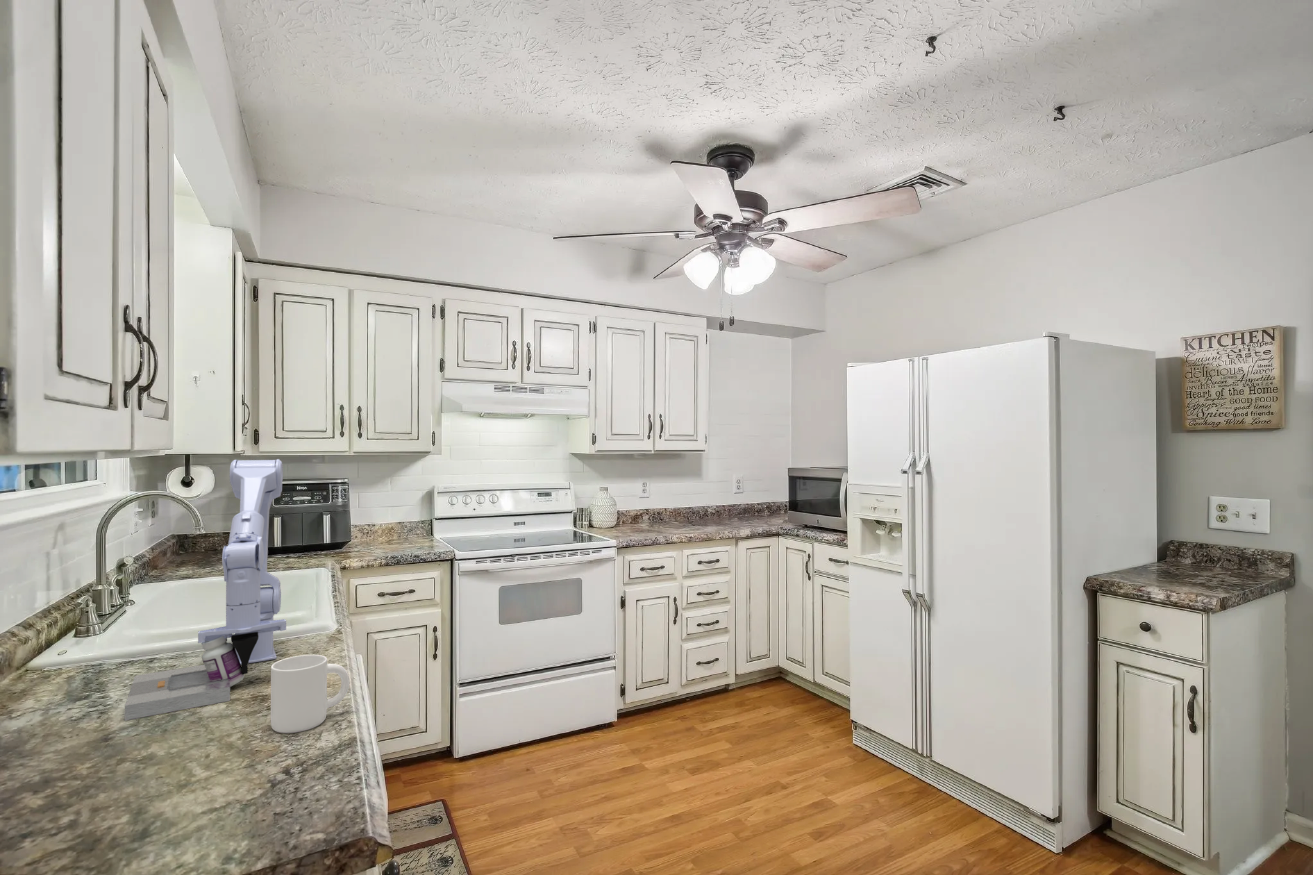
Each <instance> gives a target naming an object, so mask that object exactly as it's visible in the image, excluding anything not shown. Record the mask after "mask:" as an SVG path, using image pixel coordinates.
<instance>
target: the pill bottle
mask: <svg viewBox="0 0 1313 875" xmlns="http://www.w3.org/2000/svg"><path fill="white" fill-rule="evenodd" d="M201 647H202V649H203V650H205V651H204V652H203V654H202V655H201V660H202V662H203V665H205V668H206V671H207V674H208V677H209V680H210V681H215V680H221V679H227V678H228V679H229V680H230V688H231V687H233V686H235V685H237V684H239V683H240V682H241V681H243V679H245V674H243V675H242V664H240V661H239V659H238V656H237V653H236V650H235V647H234V646H233V644H232V642H228V638H225V637H224V636H221V637H218V638H216V639H213V640H211V641H205V642H202V643H201Z"/></svg>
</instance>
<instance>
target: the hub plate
mask: <svg viewBox="0 0 1313 875" xmlns="http://www.w3.org/2000/svg"><path fill="white" fill-rule="evenodd" d="M230 701H231V687H230V680H229V679H228V678H227V679H221V680H215V681H210V680H209V677H208V674H207V671H206V668H205V665H204V664H200V665H194V666H188V667H181V668H175V669H174V668H173V669H167V670H162V671H161V670H160V671H156V672H149V673H144V674H137V675H136V674H135V675H134V677H133V681H132V683H131V686H130V689H129V693H128V695H127V698H126V701H125V704H124V721H130V720H134V719H139V718H144V717H145V718H146V717H152V716H157V715H161V714H165V713H172V712H178V711H182V710H188V709H193V708H199V707H204V706H209V705H215V704H221V703H225V702H230Z"/></svg>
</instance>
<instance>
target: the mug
mask: <svg viewBox="0 0 1313 875" xmlns="http://www.w3.org/2000/svg"><path fill="white" fill-rule="evenodd" d="M333 673H334V674H337V675H338V676H339V678H340V681H341V682H340V689H339V691H338V692H337V694H336V695H335V696H333V697H330V698H328V674H333ZM350 683H351V682H350V675H349V673H348V671H347V669H346V668H345V667H344V666H342V665H341V664H337V663H328V658H327V656H325V655H321V654H302V655H296V656H295V655H294V656H290V657H286V658H282V659H281V660H278V661H275V662H274V663H272V664H271V666H270V727H271V728H272V730H273V731H275V732H276V733H279V734H294V733H300V732H305V731H308V730H312V729H314V728H316V727H318V726H319V725H321V724H322V723H323V722H324V721H325V720H326V717H327V711H328V710H327V709H328V708H332V707H334V706H336V705H338V704H339V703H340V702H342V701H343V700H344V699H345V697H346V695H347V694H348V691H349V688H350Z"/></svg>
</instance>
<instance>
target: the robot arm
mask: <svg viewBox="0 0 1313 875" xmlns="http://www.w3.org/2000/svg"><path fill="white" fill-rule="evenodd" d="M283 466H284V465H283V461H282V460H280V458H277V459H256V460H255V459H253V460H252V459H247V460H246V459H245V460H243V459H234V460H232V461H231V463H230V466H229V484H230V486H231V490H232V492H233V494H234V498H236V499H238V500H240V501H239V512H238V513H237V514H235V515H234V516H233V517H232V519H231V524H230V525H231V526H230V532H229V538H228V542H227V545H224V546H223V548H222V555H221V560H222V561H221V565H222V569H223V579H224V580H223V581H224V582H225V626H220V627H215V628H209V629H203V630H198V632H197V634H198V635H197V640H198V641H197V643H198V644H202V642H205V641H211V640H213V639H216V638H218V637H221V636H224V637H225V638H227V639H229V638H230V641H231V643H232V644H233V646H234V647H235V650H236V653H237V656H238V659H239V661H240V664H241V667H242V675H243V674H244V675H247V674H249V672H248V671H249V670H248V669H249V668H248V665H249V664H251V663H253V664H254V663H258V662H264V661H270V660H271V661H272V660H276V659H277V654H276V651H275V648H274V632H277V631H280V632H282V631H287V620H286V619H285V618H284V619H283V618H282V619H275V620H274V616H275V615H277V614H278V613H279V612H281V607H282V606H281V604H282V589H281V581H280V580H279V578H278V577H277V576H275V575H273V574H272V573H270V572H268V554H269V550H268V548H269V526H270V525H269V524H270V508H271V505H272V502H273V500H275V499H276V498H279V497H281V496H282V495H281V494H282V492H283V479H284V476H283V475H284V473H283V472H284V467H283Z"/></svg>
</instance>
